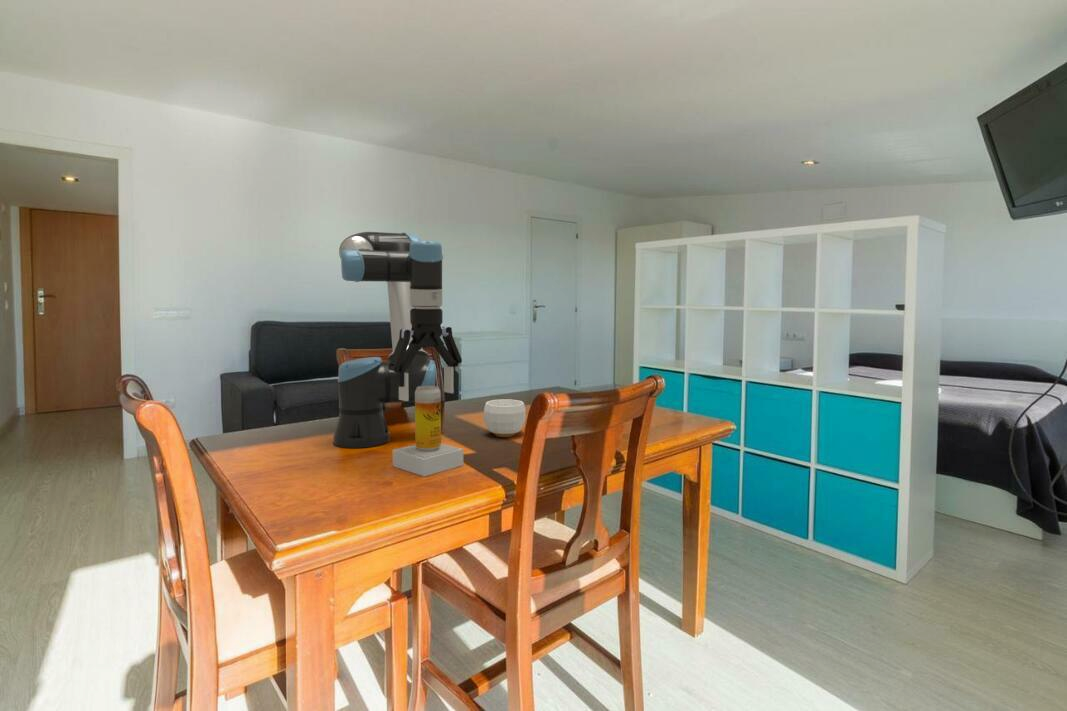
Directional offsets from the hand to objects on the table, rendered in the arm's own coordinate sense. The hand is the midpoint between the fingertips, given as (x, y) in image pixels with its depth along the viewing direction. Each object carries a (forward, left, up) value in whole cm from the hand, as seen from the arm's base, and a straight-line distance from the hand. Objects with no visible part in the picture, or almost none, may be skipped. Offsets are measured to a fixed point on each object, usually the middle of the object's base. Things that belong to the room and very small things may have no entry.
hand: (427, 396), depth 140 cm
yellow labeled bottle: (0, 0, -13) cm, 13 cm away
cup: (-8, +35, -17) cm, 40 cm away
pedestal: (0, 0, -17) cm, 17 cm away
